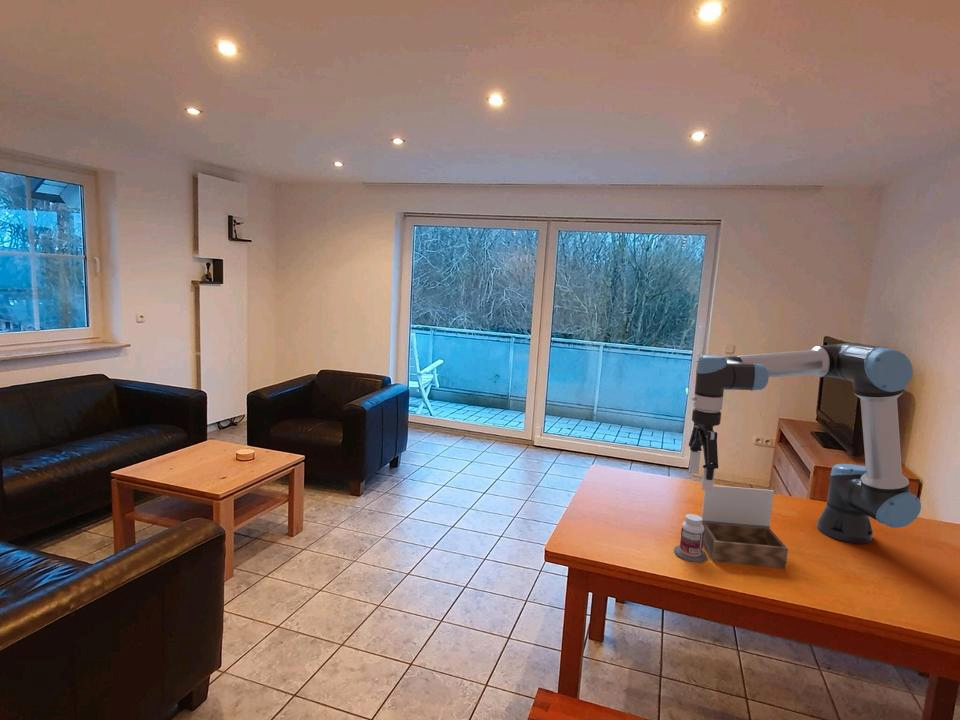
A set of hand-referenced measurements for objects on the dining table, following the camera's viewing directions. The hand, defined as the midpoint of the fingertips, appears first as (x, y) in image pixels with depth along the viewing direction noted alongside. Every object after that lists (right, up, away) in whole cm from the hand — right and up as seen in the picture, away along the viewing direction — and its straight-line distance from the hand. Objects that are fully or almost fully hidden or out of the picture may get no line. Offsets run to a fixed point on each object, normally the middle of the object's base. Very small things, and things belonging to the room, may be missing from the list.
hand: (699, 480), depth 155 cm
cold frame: (+14, -23, +7) cm, 28 cm away
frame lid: (+15, -16, +11) cm, 25 cm away
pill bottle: (-1, -22, +3) cm, 22 cm away
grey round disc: (-2, -22, +3) cm, 23 cm away
